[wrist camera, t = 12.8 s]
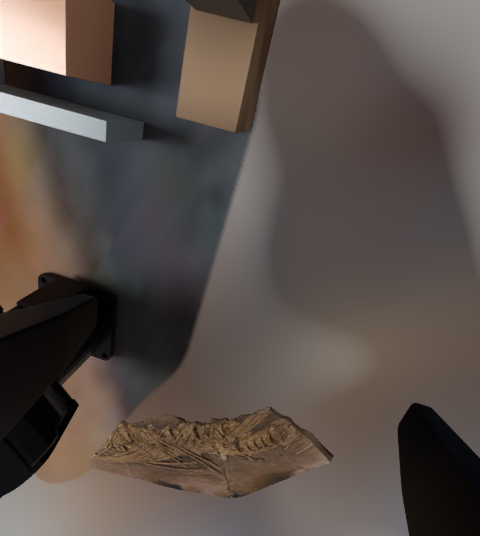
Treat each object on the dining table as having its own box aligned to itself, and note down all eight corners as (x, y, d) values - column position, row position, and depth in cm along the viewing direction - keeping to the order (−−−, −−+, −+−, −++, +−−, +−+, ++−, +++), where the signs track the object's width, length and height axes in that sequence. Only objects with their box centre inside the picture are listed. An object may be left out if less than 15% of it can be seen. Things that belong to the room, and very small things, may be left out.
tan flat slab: (318, 401, 26) (318, 411, 25) (341, 494, 29) (342, 506, 28) (64, 414, 33) (56, 423, 32) (107, 487, 37) (102, 497, 36)
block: (111, 85, 20) (65, 75, 16) (51, 69, 20) (-7, 56, 16) (115, 3, 18) (65, -28, 14) (49, -12, 18) (-16, -47, 15)
